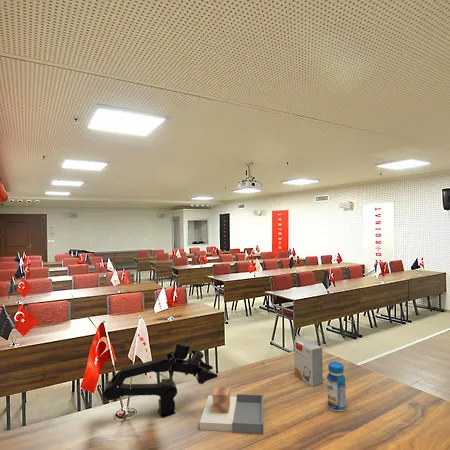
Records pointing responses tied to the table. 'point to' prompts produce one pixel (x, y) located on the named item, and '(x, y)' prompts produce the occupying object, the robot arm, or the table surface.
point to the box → (248, 414)
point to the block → (221, 400)
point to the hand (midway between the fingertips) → (214, 371)
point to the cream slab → (218, 416)
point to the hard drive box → (308, 362)
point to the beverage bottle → (336, 387)
